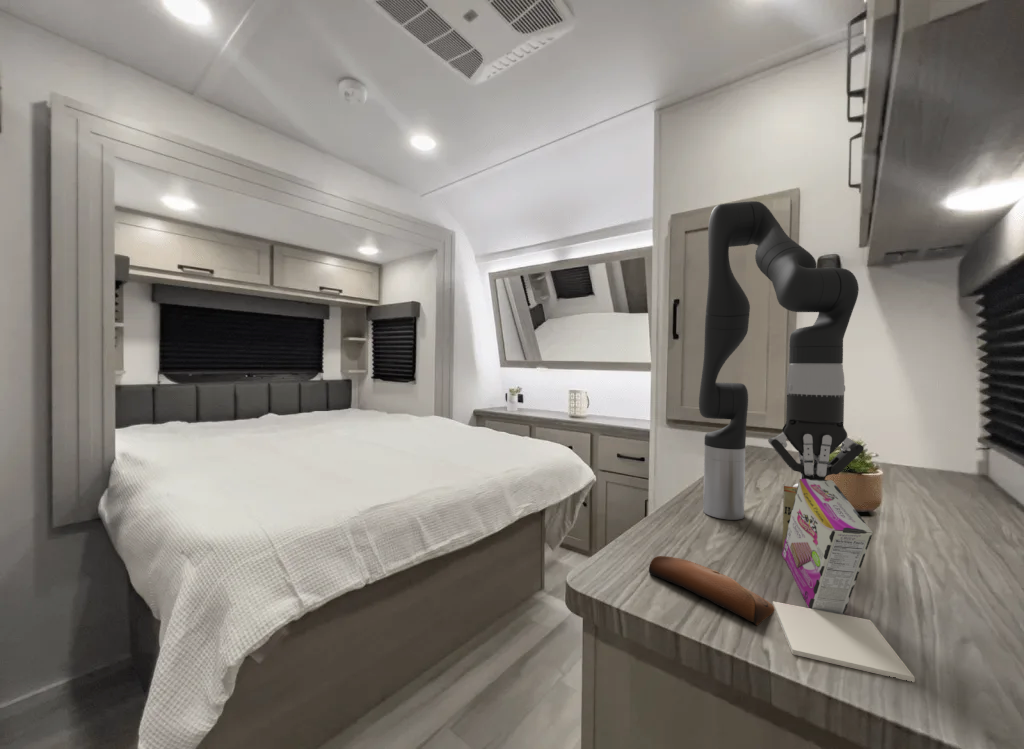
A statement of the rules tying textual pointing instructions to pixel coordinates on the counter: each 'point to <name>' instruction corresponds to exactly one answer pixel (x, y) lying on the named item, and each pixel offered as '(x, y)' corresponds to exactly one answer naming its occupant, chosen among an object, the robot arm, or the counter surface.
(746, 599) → the sunglasses case
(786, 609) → the board
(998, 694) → the counter surface
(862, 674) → the counter surface
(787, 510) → the shoe polish box
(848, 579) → the candy bar box
